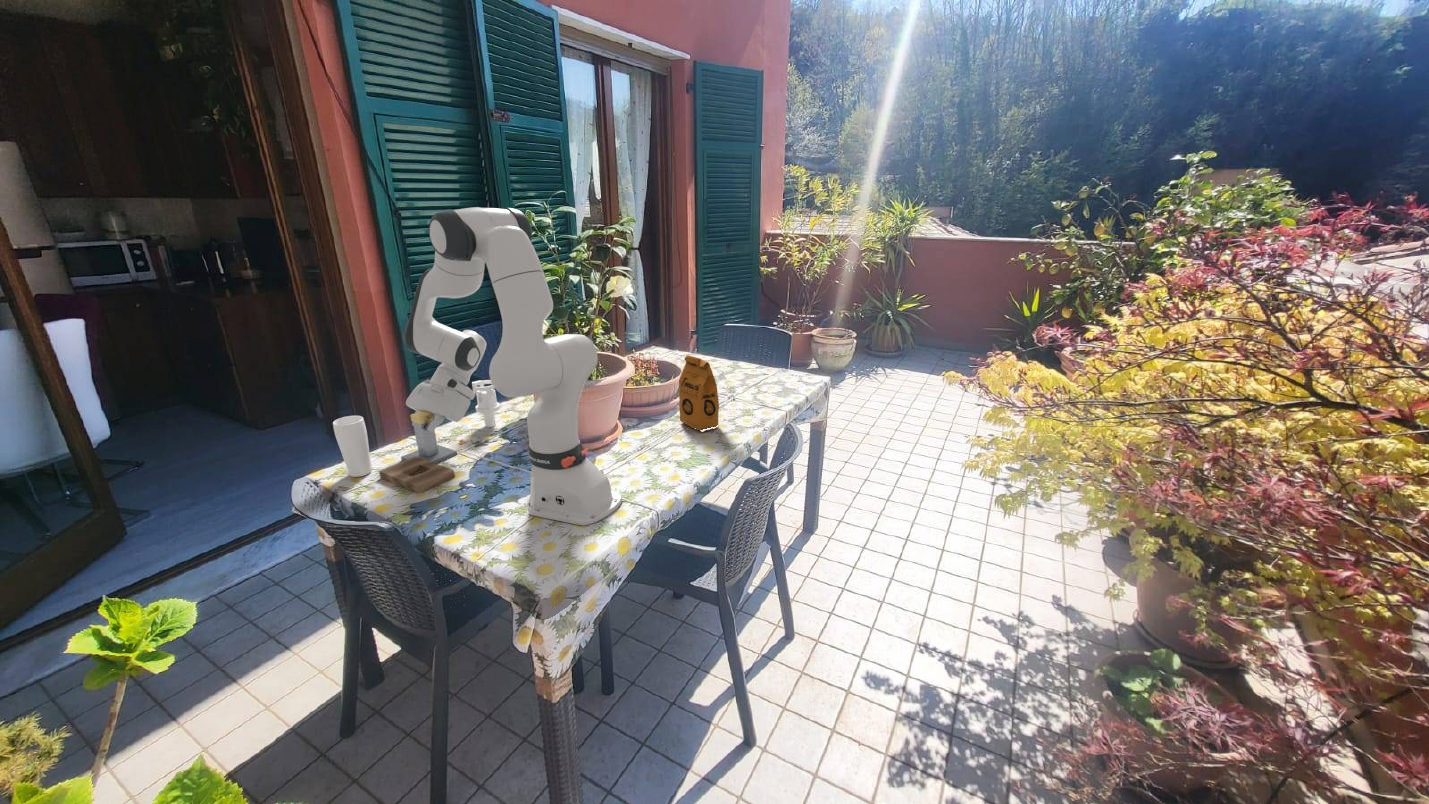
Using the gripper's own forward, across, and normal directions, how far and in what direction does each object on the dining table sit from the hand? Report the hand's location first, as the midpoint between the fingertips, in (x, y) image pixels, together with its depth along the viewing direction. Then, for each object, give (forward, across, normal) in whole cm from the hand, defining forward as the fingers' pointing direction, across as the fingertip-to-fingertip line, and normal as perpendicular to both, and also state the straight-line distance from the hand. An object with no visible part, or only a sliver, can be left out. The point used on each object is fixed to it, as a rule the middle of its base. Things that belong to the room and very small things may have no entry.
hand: (422, 428), depth 154 cm
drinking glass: (+16, -7, -4) cm, 18 cm away
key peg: (+5, 0, +6) cm, 8 cm away
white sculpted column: (-11, -4, +24) cm, 27 cm away
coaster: (+6, 0, +7) cm, 9 cm away
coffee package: (-34, +53, +47) cm, 79 cm away
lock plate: (+12, +8, 0) cm, 15 cm away
